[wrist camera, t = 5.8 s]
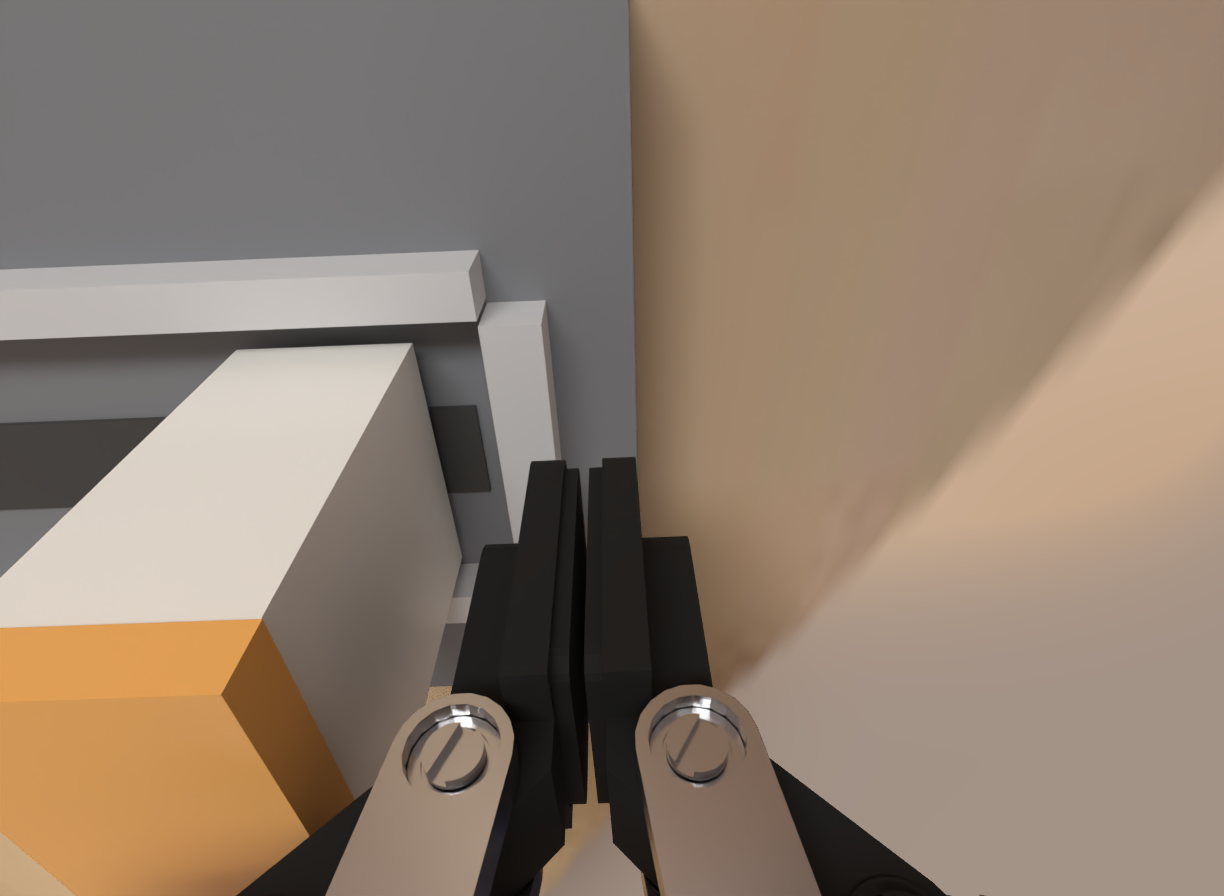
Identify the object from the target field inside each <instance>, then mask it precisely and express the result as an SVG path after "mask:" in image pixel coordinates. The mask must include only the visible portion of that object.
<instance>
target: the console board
mask: <svg viewBox="0 0 1224 896" xmlns="http://www.w3.org/2000/svg"><path fill="white" fill-rule="evenodd" d="M395 343H413V347H414V351H415V356H416V360H417V364H418V369H419V373H420V377H421V381H422V386H423V390H424V394H425V399H426V403H427V407H428V412H429V416H430V420H431V425H432V429H433V433H434V437H435V442H436V446H437V450H438V455H439V459H440V463H441V468H442V472H443V476H444V481H445V485H446V489H447V493H448V498H449V502H450V506H451V511H452V515H453V519H454V524H455V528H456V532H457V536H458V541H459V545H460V549H461V554H462V560H461V564H460V568H459V572H458V576H457V580H456V584H455V588H454V592H453V596H452V600H451V604H450V608H449V612H448V616H447V620H446V624H445V628H444V632H443V636H442V640H441V644H440V648H439V652H438V656H437V660H436V664H435V668H434V672H433V676H432V680H431V684H430V687H433V686H453V681H454V677H455V672H456V668H457V663H458V658H459V654H460V649H461V645H462V640H463V635H464V631H465V626H466V622H467V617H468V612H469V608H470V603H471V598H472V594H473V589H474V585H475V580H476V575H477V571H478V566H479V562H480V557H481V553H482V550H483V548H484V546H485V545H487V544H511V543H518V541H519V534H520V528H521V521H522V515H523V508H524V502H525V495H526V489H527V482H528V476H529V469H530V464H531V462H532V461H548V460H565V461H566V464H567V469H570V468H579V471H580V481H581V492H582V503H583V514H584V525H585V536H586V547H587V527H588V490H589V468H593V467H602V458H617V457H636V467H637V431H636V377H635V324H634V270H633V217H632V163H631V110H630V56H629V3H628V0H0V578H1V577H2V576H3V575H4V574H5V573H6V572H7V571H8V570H9V569H10V568H11V567H12V566H13V565H14V564H15V563H16V562H17V561H18V560H19V559H20V558H21V557H22V556H23V555H25V554H26V553H27V552H28V551H29V550H30V549H31V548H32V547H33V546H34V545H35V544H36V543H37V542H38V541H39V540H40V539H41V538H42V537H43V536H44V535H45V534H46V533H47V532H48V531H49V530H50V529H51V528H52V527H54V526H55V525H56V524H57V523H58V522H59V521H60V520H61V519H62V518H63V517H64V516H65V515H66V514H67V513H68V512H69V511H70V510H71V509H72V508H73V507H74V506H75V505H76V504H77V503H78V502H79V501H80V500H82V499H83V498H84V497H85V496H86V495H87V494H88V493H89V492H90V491H91V490H92V489H93V488H94V487H95V486H96V485H97V484H98V483H99V482H100V481H101V480H102V479H103V478H104V477H105V476H106V475H107V474H108V473H110V472H111V471H112V470H113V469H114V468H115V467H116V466H117V465H118V464H119V463H120V462H121V461H122V460H123V459H124V458H125V457H126V456H127V455H128V454H129V453H130V452H131V451H132V450H133V449H134V448H135V447H136V446H137V445H139V444H140V443H141V442H142V441H143V440H144V439H145V438H146V437H147V436H148V435H149V434H150V433H151V432H152V431H153V430H154V429H155V428H156V427H157V426H158V425H159V424H160V423H161V422H162V421H163V420H164V419H165V418H167V417H168V416H169V415H170V414H171V413H172V412H173V411H174V410H175V409H176V408H177V407H178V406H179V405H180V404H181V403H182V402H183V401H184V400H185V399H186V398H187V397H188V396H189V395H190V394H191V393H192V392H193V391H195V390H196V389H197V388H198V387H199V386H200V385H201V384H202V383H203V382H204V381H205V380H206V379H207V378H208V377H209V376H210V375H211V374H212V373H213V372H214V371H215V370H216V369H217V368H218V367H219V366H220V365H221V364H222V363H224V362H225V361H226V360H227V359H228V358H229V357H230V356H231V355H232V354H233V353H234V352H235V351H236V350H243V349H268V348H293V347H319V346H344V345H369V344H395Z"/></svg>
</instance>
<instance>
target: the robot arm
mask: <svg viewBox="0 0 1224 896" xmlns="http://www.w3.org/2000/svg"><path fill="white" fill-rule="evenodd" d="M588 723H589V724H590V733H591V742H592V751H593V760H594V769H595V778H596V787H597V796H598V803H610V813H611V824H612V834H613V843H614V844H615V845H616V846H617V847H618V848H619V849H620V850H621V851H622V852H623V853H624V854H625V855H626V856H627V857H628V858H629V859H630V860H631V861H632V862H633V863H634V865H635V866H637V868H638V869H639V870H640V871H641V878H642V883H643V889H644V894H645V896H950V895H946V894H944V893H943V892H942V891H941V890H940V889H939V888H938V887H937V886H936V885H935V884H934V883H933V882H932V881H930V880H929V879H928V878H926V877H925V876H924V875H922V874H921V873H920V872H918V871H917V870H916V869H914V868H913V867H912V866H910V865H909V864H908V863H907V862H905V861H904V860H903V859H901V858H900V857H899V856H897V855H896V854H895V853H893V852H892V851H891V850H889V849H888V848H887V847H886V846H884V845H883V844H882V843H880V842H879V841H877V840H876V839H875V838H874V837H872V836H871V835H870V834H868V833H867V832H866V831H865V830H863V829H862V828H861V827H859V826H858V825H857V824H855V823H854V822H853V821H851V820H850V819H849V818H847V817H846V816H845V815H843V814H842V813H841V812H840V811H838V810H837V809H836V808H834V807H833V806H832V805H830V804H829V803H828V802H826V801H825V800H824V799H823V798H821V797H820V796H819V795H817V794H816V793H815V792H813V791H812V790H811V789H809V788H808V787H807V786H805V785H804V784H803V783H801V782H800V781H799V780H798V779H796V778H795V777H794V776H792V775H791V774H790V773H788V772H787V771H786V770H784V769H783V768H782V767H781V766H779V765H778V764H776V763H775V762H774V761H773V760H771V759H770V758H769V756H768V753H767V751H766V748H765V745H764V743H763V740H762V738H761V735H760V733H759V730H758V727H757V725H756V724H755V722H754V720H753V718H752V717H751V715H750V713H749V711H748V710H747V709H746V708H745V707H744V706H743V705H742V704H741V703H740V702H739V701H737V700H736V699H735V698H734V697H732V696H730V695H729V694H727V693H725V692H723V691H721V690H719V689H717V688H713V686H712V680H711V674H710V668H709V661H708V655H707V649H706V643H705V637H704V630H703V624H702V618H701V612H700V605H699V599H698V593H697V587H696V580H695V574H694V568H693V562H692V556H691V549H690V544H689V539H688V537H687V536H679V537H655V538H642V535H641V521H640V508H639V494H638V481H637V467H636V457H617V458H602V467H593V468H589V490H588V527H587V547H586V536H585V525H584V514H583V503H582V492H581V481H580V471H579V468H570V469H567V464H566V461H565V460H548V461H532V462H531V464H530V469H529V476H528V482H527V489H526V495H525V502H524V508H523V515H522V521H521V528H520V534H519V541H518V543H511V544H487V545H485V546H484V548H483V550H482V553H481V557H480V562H479V566H478V571H477V575H476V580H475V585H474V589H473V594H472V598H471V603H470V608H469V612H468V617H467V622H466V626H465V631H464V635H463V640H462V645H461V649H460V654H459V658H458V663H457V668H456V672H455V677H454V681H453V686H452V691H451V695H448V696H445V697H442V698H439V699H435V700H433V701H432V702H430V703H428V704H427V705H425V706H423V707H422V708H420V709H418V710H417V711H416V712H415V713H414V714H413V715H412V716H411V717H410V718H409V719H408V720H407V721H406V722H405V723H404V724H403V725H402V727H401V729H400V730H399V732H398V734H397V735H396V737H395V739H394V740H393V742H392V744H391V747H390V749H389V751H388V753H387V756H386V758H385V760H384V763H383V765H382V767H381V769H380V772H379V774H378V776H377V779H376V781H375V783H374V785H373V786H372V787H370V788H369V789H368V790H367V791H365V792H364V793H363V794H362V795H360V796H359V797H358V798H357V799H355V800H354V801H353V802H352V803H351V804H349V805H348V806H347V807H346V808H344V809H343V810H342V811H341V812H339V813H338V814H337V815H336V816H334V817H333V818H332V819H331V820H329V821H328V822H327V823H326V824H324V825H323V826H322V827H321V828H319V829H318V830H317V831H316V832H314V833H313V834H312V835H311V836H309V837H308V838H307V839H306V840H305V841H303V842H302V843H301V844H300V845H298V846H297V847H296V848H295V849H293V850H292V851H291V852H290V853H288V854H287V855H286V856H285V857H283V858H282V859H281V860H280V861H278V862H277V863H276V864H275V865H273V866H272V867H271V868H270V869H268V870H267V871H266V872H265V873H264V874H262V875H261V876H260V877H259V878H257V879H256V880H255V881H254V882H252V883H251V884H250V885H249V886H247V887H246V888H245V889H244V890H242V891H241V892H240V893H239V894H237V895H236V896H539V893H540V888H541V883H542V874H543V867H544V866H545V865H546V864H547V862H548V861H549V860H550V859H551V858H552V857H553V856H554V855H555V854H556V853H557V852H558V851H559V850H560V849H561V848H562V847H563V846H564V845H565V829H568V828H572V811H573V804H586V802H587V777H588ZM979 896H984V895H979Z"/></svg>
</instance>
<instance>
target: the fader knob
mask: <svg viewBox="0 0 1224 896" xmlns="http://www.w3.org/2000/svg"><path fill="white" fill-rule="evenodd" d="M461 560H462V554H461V549H460V545H459V541H458V536H457V532H456V528H455V524H454V519H453V515H452V511H451V506H450V502H449V498H448V493H447V489H446V485H445V481H444V476H443V472H442V468H441V463H440V459H439V455H438V450H437V446H436V442H435V437H434V433H433V429H432V425H431V420H430V416H429V412H428V407H427V403H426V399H425V394H424V390H423V386H422V381H421V377H420V373H419V369H418V364H417V360H416V356H415V351H414V347H413V343H395V344H369V345H344V346H319V347H293V348H268V349H243V350H236V351H235V352H234V353H233V354H232V355H231V356H230V357H229V358H228V359H227V360H226V361H225V362H224V363H222V364H221V365H220V366H219V367H218V368H217V369H216V370H215V371H214V372H213V373H212V374H211V375H210V376H209V377H208V378H207V379H206V380H205V381H204V382H203V383H202V384H201V385H200V386H199V387H198V388H197V389H196V390H195V391H193V392H192V393H191V394H190V395H189V396H188V397H187V398H186V399H185V400H184V401H183V402H182V403H181V404H180V405H179V406H178V407H177V408H176V409H175V410H174V411H173V412H172V413H171V414H170V415H169V416H168V417H167V418H165V419H164V420H163V421H162V422H161V423H160V424H159V425H158V426H157V427H156V428H155V429H154V430H153V431H152V432H151V433H150V434H149V435H148V436H147V437H146V438H145V439H144V440H143V441H142V442H141V443H140V444H139V445H137V446H136V447H135V448H134V449H133V450H132V451H131V452H130V453H129V454H128V455H127V456H126V457H125V458H124V459H123V460H122V461H121V462H120V463H119V464H118V465H117V466H116V467H115V468H114V469H113V470H112V471H111V472H110V473H108V474H107V475H106V476H105V477H104V478H103V479H102V480H101V481H100V482H99V483H98V484H97V485H96V486H95V487H94V488H93V489H92V490H91V491H90V492H89V493H88V494H87V495H86V496H85V497H84V498H83V499H82V500H80V501H79V502H78V503H77V504H76V505H75V506H74V507H73V508H72V509H71V510H70V511H69V512H68V513H67V514H66V515H65V516H64V517H63V518H62V519H61V520H60V521H59V522H58V523H57V524H56V525H55V526H54V527H52V528H51V529H50V530H49V531H48V532H47V533H46V534H45V535H44V536H43V537H42V538H41V539H40V540H39V541H38V542H37V543H36V544H35V545H34V546H33V547H32V548H31V549H30V550H29V551H28V552H27V553H26V554H25V555H23V556H22V557H21V558H20V559H19V560H18V561H17V562H16V563H15V564H14V565H13V566H12V567H11V568H10V569H9V570H8V571H7V572H6V573H5V574H4V575H3V576H2V577H1V578H0V832H1V833H2V834H4V835H5V836H6V837H7V838H8V839H10V840H11V841H12V842H13V843H14V844H16V845H17V846H18V847H19V848H20V849H21V850H23V851H24V852H25V853H26V854H27V855H29V856H30V857H31V858H32V859H33V860H34V861H36V862H37V863H38V864H39V865H40V866H42V867H43V868H44V869H45V870H46V871H47V872H49V873H50V874H51V875H52V876H53V877H55V878H56V879H57V880H58V881H59V882H61V883H62V884H63V885H64V886H65V887H66V888H68V889H69V890H70V891H71V892H72V893H74V894H75V895H76V896H236V895H237V894H239V893H240V892H241V891H242V890H244V889H245V888H246V887H247V886H249V885H250V884H251V883H252V882H254V881H255V880H256V879H257V878H259V877H260V876H261V875H262V874H264V873H265V872H266V871H267V870H268V869H270V868H271V867H272V866H273V865H275V864H276V863H277V862H278V861H280V860H281V859H282V858H283V857H285V856H286V855H287V854H288V853H290V852H291V851H292V850H293V849H295V848H296V847H297V846H298V845H300V844H301V843H302V842H303V841H305V840H306V839H307V838H308V837H309V836H311V835H312V834H313V833H314V832H316V831H317V830H318V829H319V828H321V827H322V826H323V825H324V824H326V823H327V822H328V821H329V820H331V819H332V818H333V817H334V816H336V815H337V814H338V813H339V812H341V811H342V810H343V809H344V808H346V807H347V806H348V805H349V804H351V803H352V802H353V801H354V800H355V799H357V798H358V797H359V796H360V795H362V794H363V793H364V792H365V791H367V790H368V789H369V788H370V787H372V786H373V785H374V783H375V781H376V779H377V776H378V774H379V772H380V769H381V767H382V765H383V763H384V760H385V758H386V756H387V753H388V751H389V749H390V747H391V744H392V742H393V740H394V739H395V737H396V735H397V734H398V732H399V730H400V729H401V727H402V725H403V724H404V723H405V722H406V721H407V720H408V719H409V718H410V717H411V716H412V715H413V714H414V713H415V712H416V711H417V710H418V709H420V708H422V707H423V706H425V704H426V700H427V696H428V692H429V688H430V684H431V680H432V676H433V672H434V668H435V664H436V660H437V656H438V652H439V648H440V644H441V640H442V636H443V632H444V628H445V624H446V620H447V616H448V612H449V608H450V604H451V600H452V596H453V592H454V588H455V584H456V580H457V576H458V572H459V568H460V564H461Z"/></svg>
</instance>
